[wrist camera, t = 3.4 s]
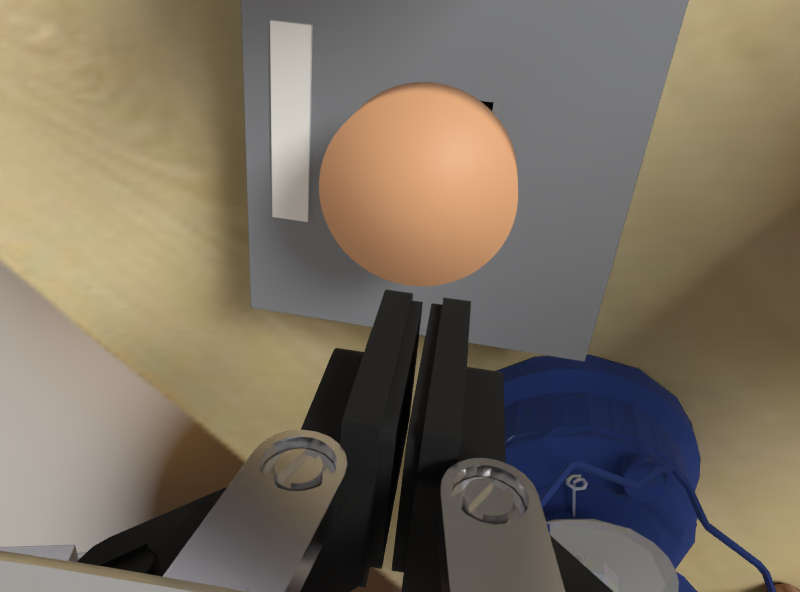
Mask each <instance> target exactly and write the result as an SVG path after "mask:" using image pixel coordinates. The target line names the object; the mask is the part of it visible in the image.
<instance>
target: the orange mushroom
mask: <svg viewBox="0 0 800 592" xmlns="http://www.w3.org/2000/svg"><path fill="white" fill-rule="evenodd" d="M319 197H320V203H321V208H322V212H323V215H324V218H325V221H326V223H327V225H328V228H329V230H330V232H331V233H332V235H333V237H334V238H335V240H336V242H337V243H338V244H339V245H340V247H341V248H342V249H343V250H344V252H345V253H346V254H347V255H348V256H349V257H350V258H351V259H352V260H354V261H355V262H356V263H357V264H359V265H360V266H361V267H363V268H364V269H366V270H367V271H369V272H371V273H372V274H374V275H376V276H379V277H381V278H383V279H386V280H388V281H391V282H394V283H399V284H403V285H410V286H435V285H442V284H446V283H450V282H454V281H457V280H459V279H462V278H464V277H466V276H468V275H470V274H472V273H473V272H475V271H477V270H478V269H480V268H481V267H482V266H484V265H485V264H486V263H487V262H488V261H489V260H490V259H491V258H492V257H494V256H495V254H496V253H497V252H498V251H499V249H500V248H501V247H502V245H503V244H504V242H505V240H506V239H507V237H508V235H509V233H510V231H511V228H512V226H513V223H514V220H515V216H516V212H517V204H518V170H517V161H516V155H515V151H514V148H513V145H512V142H511V140H510V138H509V135H508V133H507V131H506V130H505V128H504V126H503V125H502V123H501V122H500V120H499V119H498V118H497V117H496V116H495V114H494V113H493V112H492V111H491V110H490V109H489V108H488V107H487V106H486V105H484V104H483V103H482V102H481V101H479V100H478V99H476V98H475V97H473V96H472V95H470V94H468V93H466V92H464V91H462V90H460V89H457V88H454V87H452V86H449V85H444V84H439V83H432V82H415V83H407V84H402V85H398V86H395V87H392V88H389V89H387V90H384V91H382V92H381V93H379V94H377V95H375V96H373V97H372V98H371V99H369V100H368V101H367V102H365V103H364V104H363V105H362V106H361V107H360V108H359V109H358V110H357V111H356V112H355V113H354V114H353V115H352V116H351V117H350V118H349V119H348V120H347V121H346V122H345V123H344V124H343V125H342V126H341V127H340V129H339V130H338V131H337V133H336V134H335V135H334V137H333V139H332V140H331V142H330V144H329V146H328V147H327V150H326V153H325V155H324V158H323V161H322V165H321V169H320V177H319Z"/></svg>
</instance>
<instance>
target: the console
mask: <svg viewBox="0 0 800 592" xmlns="http://www.w3.org/2000/svg"><path fill="white" fill-rule="evenodd" d="M688 1H689V0H241V16H242V47H243V78H244V108H245V139H246V169H247V200H248V231H249V261H250V292H251V308H257V309H263V310H269V311H275V312H281V313H287V314H294V315H300V316H306V317H312V318H318V319H325V320H331V321H337V322H343V323H349V324H356V325H362V326H368V327H373V325H374V322H375V319H376V316H377V312H378V309H379V306H380V303H381V300H382V297H383V294H384V292H385V290H393V291H400V292H408V293H413V301H420V302H423V306H422V315H421V324H420V332H419V335H424V336H426V330H427V325H428V319H429V314H430V309H431V303H434V304H441V305H442V304H443V298H451V299H458V300H466V301H471V311H470V326H469V341H468V343H473V344H479V345H486V346H492V347H498V348H504V349H510V350H517V351H523V352H529V353H535V354H541V355H547V356H554V357H560V358H566V359H572V360H578V361H585V359H586V355H587V352H588V348H589V345H590V341H591V338H592V334H593V331H594V327H595V324H596V320H597V317H598V313H599V310H600V306H601V303H602V300H603V296H604V293H605V289H606V286H607V282H608V279H609V275H610V272H611V268H612V265H613V261H614V258H615V254H616V251H617V247H618V244H619V241H620V237H621V234H622V230H623V227H624V223H625V220H626V216H627V213H628V209H629V206H630V202H631V199H632V195H633V192H634V188H635V185H636V181H637V178H638V175H639V171H640V168H641V164H642V161H643V157H644V154H645V150H646V147H647V143H648V140H649V136H650V133H651V129H652V126H653V122H654V119H655V116H656V112H657V109H658V105H659V102H660V98H661V95H662V91H663V88H664V84H665V81H666V77H667V74H668V70H669V67H670V63H671V60H672V56H673V53H674V50H675V46H676V43H677V39H678V36H679V32H680V29H681V25H682V22H683V18H684V15H685V11H686V8H687V4H688ZM415 82H432V83H439V84H444V85H449V86H452V87H454V88H457V89H460V90H462V91H464V92H466V93H468V94H470V95H472V96H473V97H475V98H476V99H478V100H479V101H486V102H493V104H492V112H493V113H494V114H495V116H496V117H497V118H498V119H499V120H500V122H501V123H502V125H503V126H504V128H505V130H506V131H507V133H508V135H509V138H510V140H511V142H512V145H513V148H514V151H515V155H516V161H517V170H518V204H517V212H516V216H515V220H514V223H513V226H512V228H511V231H510V233H509V235H508V237H507V239H506V240H505V242H504V244H503V245H502V247H501V248H500V249H499V251H498V252H497V253H496V254H495V256H494V257H492V258H491V259H490V260H489V261H488V262H487V263H486V264H485V265H484V266H482V267H481V268H480V269H478V270H477V271H475V272H473V273H472V274H470V275H468V276H466V277H464V278H462V279H459V280H457V281H454V282H450V283H446V284H442V285H435V286H410V285H403V284H399V283H394V282H391V281H388V280H386V279H383V278H381V277H379V276H376V275H374V274H372V273H371V272H369V271H367V270H366V269H364V268H363V267H361V266H360V265H359V264H357V263H356V262H355V261H354V260H352V259H351V258H350V257H349V256H348V255H347V254H346V253H345V252H344V250H343V249H342V248H341V247H340V245H339V244H338V243H337V242H336V240H335V238H334V237H333V235H332V233H331V232H330V230H329V228H328V225H327V223H326V221H325V218H324V215H323V212H322V208H321V203H320V197H319V177H320V169H321V165H322V161H323V158H324V155H325V153H326V150H327V147H328V146H329V144H330V142H331V140H332V139H333V137H334V135H335V134H336V133H337V131H338V130H339V129H340V127H341V126H342V125H343V124H344V123H345V122H346V121H347V120H348V119H349V118H350V117H351V116H352V115H353V114H354V113H355V112H356V111H357V110H358V109H359V108H360V107H361V106H362V105H363V104H364V103H365V102H367V101H368V100H369V99H371V98H372V97H373V96H375V95H377V94H379V93H381V92H382V91H384V90H387V89H389V88H392V87H395V86H398V85H402V84H407V83H415Z"/></svg>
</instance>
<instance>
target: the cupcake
mask: <svg viewBox="0 0 800 592" xmlns="http://www.w3.org/2000/svg"><path fill="white" fill-rule="evenodd" d="M774 586H775V589H776V592H800V590H799V589H798V588H796V587H794V586H792V585H789V584H777V585H774ZM767 592H768V591H767Z"/></svg>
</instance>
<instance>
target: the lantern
mask: <svg viewBox="0 0 800 592" xmlns="http://www.w3.org/2000/svg"><path fill="white" fill-rule="evenodd" d="M497 372H503V376H504V413H505V458H506V464H509V465H512V466H513V467H515V468H516V469H518V470H519V471H521V472H522V473H524V474H525V475H526V477H527V478H528V479H529V480H530V481H531V482H532V483H533V485H534V487H535V489H536V491H537V493H538V495H539V498H540V502H541V506H542V509H543V513H544V516H545V520H546V524H547V527H548V531H549V534H550V535H551V536H552V537H553V538H554V539H555V540H556V541H557V542H559V543H560V544H561V545H562V546H563V547H564V548H565V549H566V550H568V551H569V552H570V553H571V554H572V555H573V556H574V557H575V558H577V559H578V560H579V561H580V562H581V563H582V564H583V565H584V566H585V567H587V568H588V569H589V570H590V571H591V572H592V573H593V574H594V575H596V576H597V577H598V578H599V579H600V580H601V581H602V582H603V583H605V584H606V585H607V586H608V587H609V588H610V589H611V590H612V591H613V592H697V591H696V590H695V589H694V587H693V586H692V585H691V584H690V583H689V582H688V581H687V580H686V578H685V577H683V576H682V575H680V574H679V573H677V572H676V568H677V566H678V565H679V563H680V562H681V561H682V559H683V558H684V556H685V555H686V554H687V552H688V551H689V549H690V548H691V547H692V545H693V544H694V542H695V531H696V526H697V524H696V521H697V518H698V519H699V520H700V522H701V523H702V525H703V526H704V528H705V529H706V530H707V531H708V532H709V533H711V534H712V535H714V536H715V537H716V538H718V539H719V540H720V541H722V542H723V543H724V544H726V545H727V546H728V547H730V548H731V549H732V550H734V551H735V552H736V553H738V554H739V555H740V556H742V557H743V558H744V559H746V560H747V561H748V562H750V563H751V564H753V565H754V566H755V567H756V568H757V569H758V570H759V571H760V572H761V574H762V575H763V578H764V581H765V584H766V587H767V590H768V592H776V589H775V586H774V583H773V581H772V578H771V575H770V572H769V571H768V570H767V568H766V567H765V566H764V565H763V564H762V562H760V561H759V560H758V559H756V558H755V557H754V556H752V555H751V554H750V553H748V552H747V551H746V550H744V549H743V548H742V547H740V546H739V545H738V544H736V543H735V542H734V541H732V540H731V539H730V538H728V537H727V536H726V535H724V534H723V533H722V532H720V531H719V530H718V529H716V528H715V527H714V526H712V525H711V524H710V523H709V522H708V520H707V518H706V516H705V514H704V511H703V509H702V507H701V505H700V503H699V501H698V498H697V496H696V494H695V489H696V486H697V483H698V480H699V476H700V455H699V450H698V446H697V441H696V438H695V435H694V431H693V427H692V423H691V421H690V420H689V418H688V416H687V414H686V413H685V411H684V409H683V407H682V406H681V404H680V402H679V400H678V399H677V397H675V396H674V395H673V394H671V393H670V392H669V391H667V390H666V389H665V388H663V387H662V386H661V385H659V384H658V383H657V382H655V381H654V380H653V379H652V378H650V377H649V376H648V375H646V374H645V373H644V372H642V371H641V370H640V369H637V368H634V367H630V366H627V365H623V364H620V363H616V362H613V361H609V360H606V359H602V358H599V357H595V356H592V355H586V359H585V361H578V360H572V359H566V358H560V357H554V356H542V357H533V358H530V359H528V360H525V361H522V362H519V363H517V364H514V365H511V366H508V367H506V368H503V369H500V370H497Z"/></svg>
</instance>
